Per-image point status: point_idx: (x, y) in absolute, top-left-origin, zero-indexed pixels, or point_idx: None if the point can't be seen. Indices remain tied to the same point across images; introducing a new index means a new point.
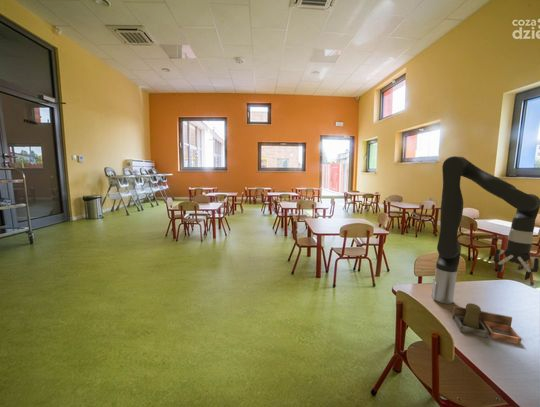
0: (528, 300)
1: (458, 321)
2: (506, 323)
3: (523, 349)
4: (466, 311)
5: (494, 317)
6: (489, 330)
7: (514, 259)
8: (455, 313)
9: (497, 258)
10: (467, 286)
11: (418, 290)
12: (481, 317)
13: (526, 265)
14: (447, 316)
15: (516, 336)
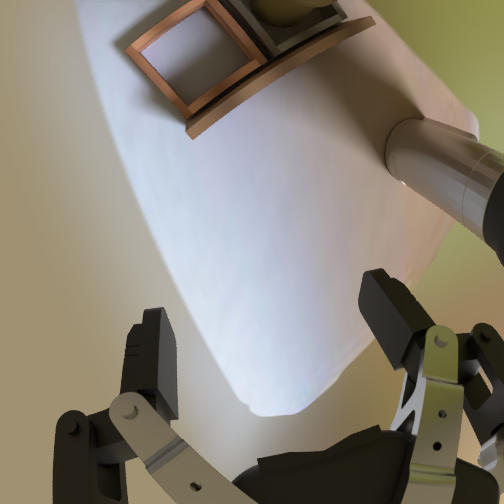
0: (240, 375)
1: None
2: (199, 115)
3: (114, 34)
4: (330, 33)
5: (239, 88)
6: (220, 4)
7: (353, 491)
8: (351, 21)
9: (494, 367)
10: None
11: None
12: (277, 62)
13: (157, 474)
14: None
15: (142, 57)
